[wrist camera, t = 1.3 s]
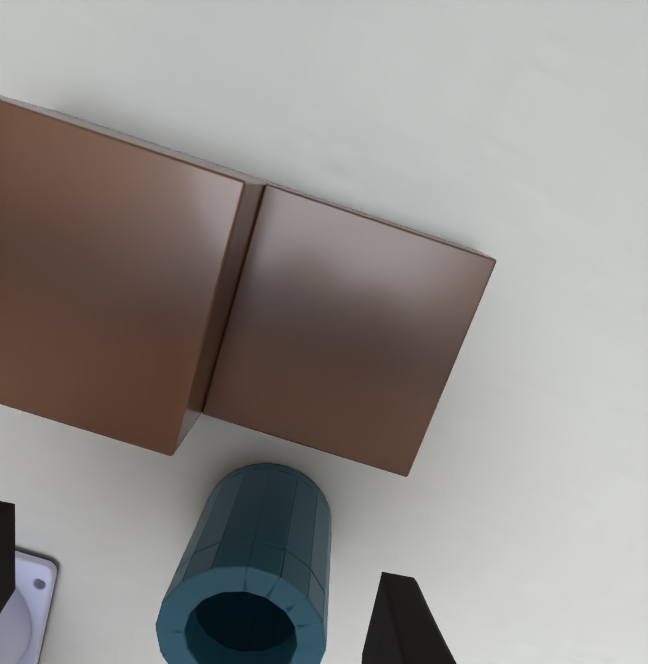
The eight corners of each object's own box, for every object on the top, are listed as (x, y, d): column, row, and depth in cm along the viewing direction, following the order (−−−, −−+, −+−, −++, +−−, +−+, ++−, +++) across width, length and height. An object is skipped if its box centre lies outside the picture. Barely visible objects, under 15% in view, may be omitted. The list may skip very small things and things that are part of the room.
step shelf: (400, 444, 20) (427, 569, 14) (17, 324, 20) (-154, 394, 13) (477, 251, 18) (555, 285, 12) (52, 109, 18) (-131, 59, 11)
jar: (309, 584, 22) (296, 723, 17) (193, 550, 22) (139, 678, 16) (347, 484, 21) (348, 596, 15) (224, 446, 21) (177, 546, 15)
